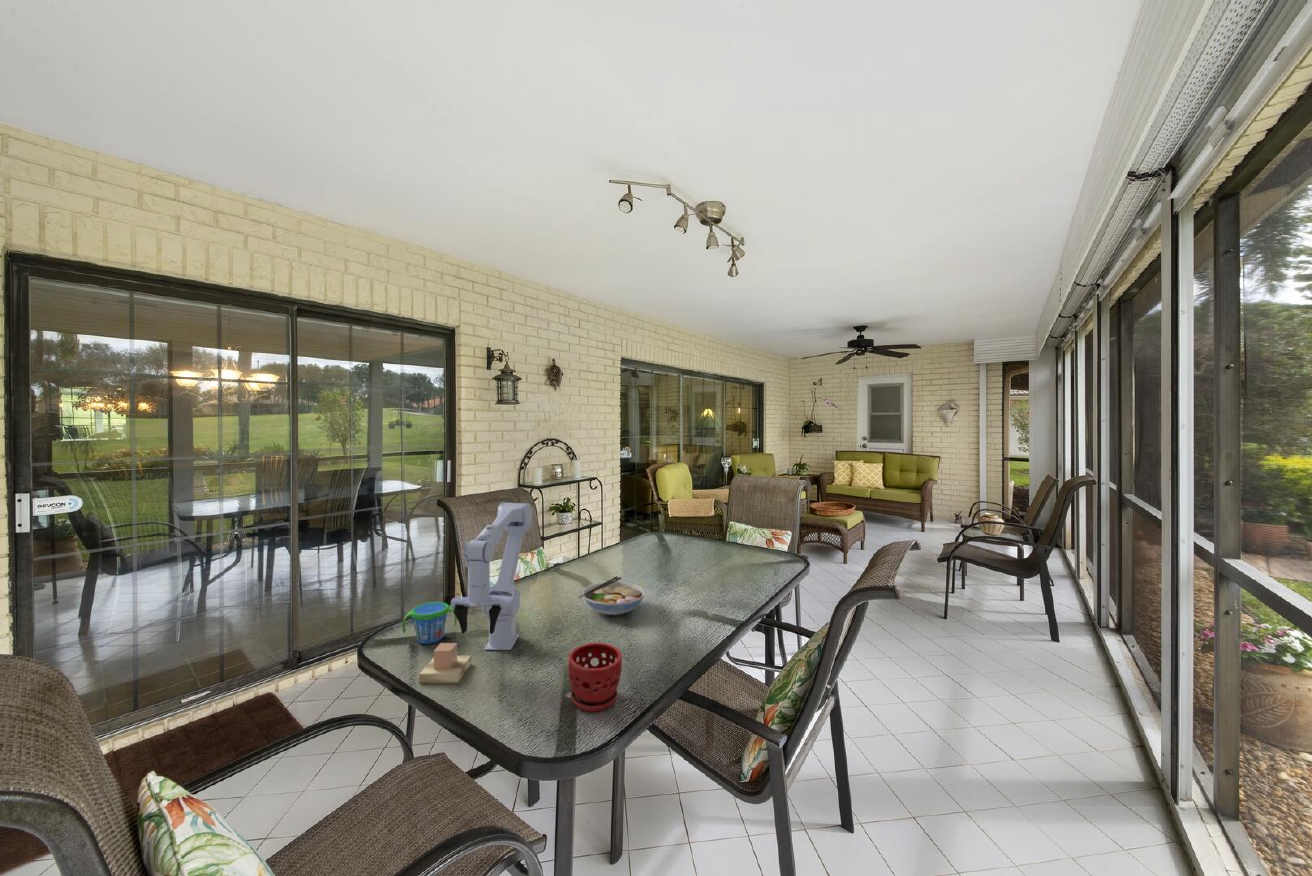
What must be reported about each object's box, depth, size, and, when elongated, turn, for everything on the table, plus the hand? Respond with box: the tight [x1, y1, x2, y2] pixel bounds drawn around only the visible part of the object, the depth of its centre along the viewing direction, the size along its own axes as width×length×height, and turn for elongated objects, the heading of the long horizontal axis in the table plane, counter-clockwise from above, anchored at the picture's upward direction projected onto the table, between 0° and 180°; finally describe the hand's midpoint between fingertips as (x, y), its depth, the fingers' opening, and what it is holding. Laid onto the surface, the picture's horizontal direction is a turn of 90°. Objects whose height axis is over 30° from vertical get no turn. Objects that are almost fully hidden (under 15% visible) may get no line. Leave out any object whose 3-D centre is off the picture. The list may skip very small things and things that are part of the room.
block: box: [433, 642, 458, 669], centre depth 134 cm, size 4×4×5 cm
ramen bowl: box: [577, 575, 646, 616], centre depth 178 cm, size 25×23×8 cm
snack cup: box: [401, 601, 458, 645], centre depth 154 cm, size 16×10×10 cm
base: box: [418, 654, 472, 684], centre depth 134 cm, size 10×10×2 cm
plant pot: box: [568, 642, 623, 712], centre depth 122 cm, size 13×13×12 cm
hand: (478, 632), depth 136 cm, fingers open, 7 cm apart
